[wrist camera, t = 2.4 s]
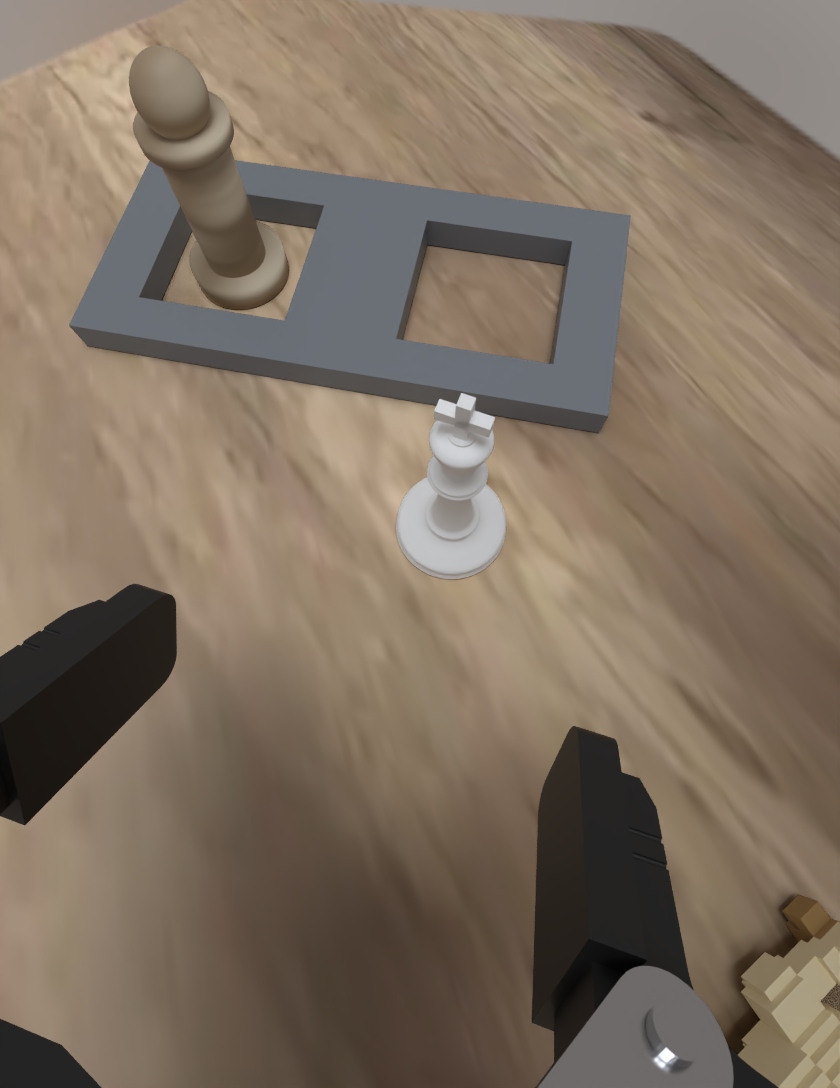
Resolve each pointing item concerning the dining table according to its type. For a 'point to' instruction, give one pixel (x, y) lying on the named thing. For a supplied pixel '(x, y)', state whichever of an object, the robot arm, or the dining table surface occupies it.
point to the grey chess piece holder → (371, 293)
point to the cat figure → (797, 1004)
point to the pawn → (205, 180)
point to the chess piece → (454, 498)
